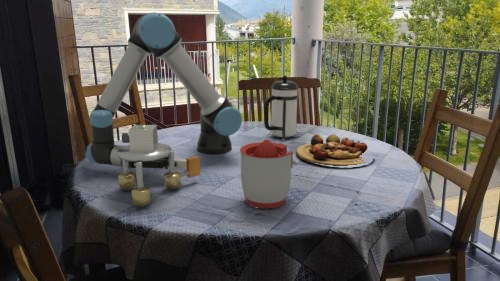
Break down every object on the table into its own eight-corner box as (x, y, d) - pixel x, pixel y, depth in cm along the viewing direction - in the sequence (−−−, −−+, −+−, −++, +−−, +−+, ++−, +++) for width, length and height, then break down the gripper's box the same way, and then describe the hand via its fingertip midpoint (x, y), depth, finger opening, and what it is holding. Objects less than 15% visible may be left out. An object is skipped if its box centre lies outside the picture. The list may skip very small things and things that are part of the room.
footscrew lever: (170, 192, 129) (168, 154, 125) (161, 188, 132) (159, 150, 129) (203, 182, 138) (202, 146, 134) (194, 178, 141) (193, 143, 138)
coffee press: (267, 132, 205) (268, 73, 197) (298, 134, 203) (301, 74, 195) (263, 142, 188) (264, 77, 180) (298, 143, 186) (300, 78, 178)
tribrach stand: (176, 185, 136) (173, 119, 130) (167, 210, 118) (163, 134, 112) (122, 186, 135) (117, 120, 129) (105, 210, 117) (97, 135, 111)
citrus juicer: (303, 210, 118) (306, 144, 113) (245, 215, 115) (245, 148, 109) (287, 189, 133) (289, 131, 128) (236, 193, 130) (235, 133, 124)
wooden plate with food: (336, 176, 147) (338, 154, 144) (280, 153, 171) (281, 134, 169) (390, 161, 165) (392, 142, 163) (332, 143, 190) (333, 126, 187)
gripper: (138, 161, 150) (195, 168, 143) (116, 172, 138) (177, 181, 131) (137, 141, 148) (195, 148, 141) (114, 151, 136) (176, 159, 129)
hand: (186, 164), depth 136 cm, fingers closed
